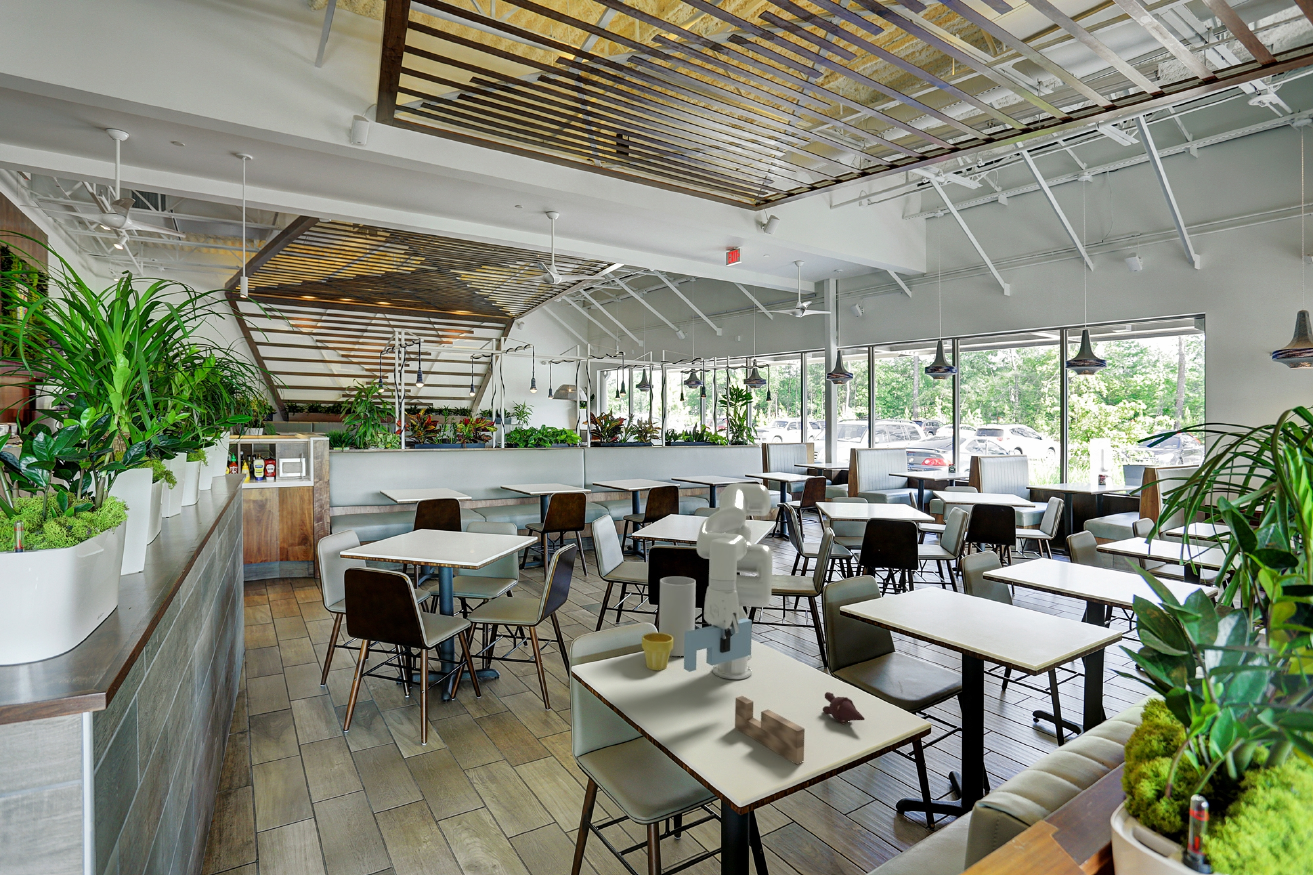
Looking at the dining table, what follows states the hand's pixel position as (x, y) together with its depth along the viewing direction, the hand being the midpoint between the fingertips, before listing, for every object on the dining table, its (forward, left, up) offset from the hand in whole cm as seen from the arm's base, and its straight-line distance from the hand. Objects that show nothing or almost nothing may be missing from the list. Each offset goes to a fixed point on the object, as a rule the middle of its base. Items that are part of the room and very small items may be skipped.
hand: (721, 649), depth 179 cm
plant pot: (-18, -34, -18) cm, 43 cm away
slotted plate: (+1, 0, -3) cm, 3 cm away
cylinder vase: (-34, -37, -18) cm, 53 cm away
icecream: (-17, +29, -18) cm, 38 cm away
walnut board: (+7, +18, -18) cm, 26 cm away
